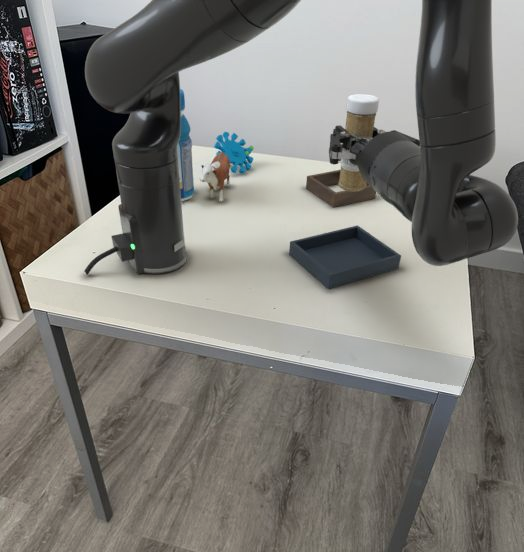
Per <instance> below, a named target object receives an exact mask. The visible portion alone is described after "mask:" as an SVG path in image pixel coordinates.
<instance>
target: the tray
mask: <svg viewBox="0 0 524 552" xmlns="http://www.w3.org/2000/svg"><path fill="white" fill-rule="evenodd" d="M288 253H289V254H288V255H289V256H290V257H291V258H292V259H294V260H295V261H296V262H297V263H298V264H299V265H301V266H302V267H303V268H304V269H305V270H306V271H307V272H308V273H310V274H311V275H312V276H313V278H315V279H316V280H317V281H319V283H321V284H322V285H323V286H324V287H325V288H326V289H329V290H330V289H331V288H337V287H339V286H344V285H347V284H349V283H353V282H357V281H360V280H363V279H367V278H371V277H373V276H377V275H381V274H384V273H388V272H391V271H395V270H399V268H400V263H401V258H402V254H400V253H398V252H397V251H395V250H394V249H393V248H391V247H390V246H389V245H387V244H385V242H383V241H381V240H380V239H378V238H377V237H375V236H373V235H372V234H371V233H369V232H368V231H367V230H365V229H363V228H362V227H361V226H359V225H352V226H349V227H345V228H341V229H336V230H333V231H329V232H324V233H320V234H315V235H311V236H307V237H304V238H298V239H295V240H291V241H289V251H288Z"/></svg>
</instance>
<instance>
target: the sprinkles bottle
mask: <svg viewBox="0 0 524 552" xmlns="http://www.w3.org/2000/svg"><path fill="white" fill-rule="evenodd" d="M379 103H380V99H379V97H377V96H375V95H373V94H367V93H355V94H351V95H349V96H348V97H347V100H346V118H345V127H344V129H345V130H347V131H348V133H350V134H354V133H359V134H361V135H363V136H365V137H372V135H373V129H374V127H375V123H376V122H375V121H376V117H377V113H378V111H379ZM347 147H348V146H347ZM339 170H340V179H339V183H338V184H337V186H338V187H339V188H340V189H342V191H345V190H347V191H353V192H354V191H361V190H363V189H365V188H366V181H365V180H364V179H363V178H362V176H361V174H360V171H359V168H358V166H357V165H354V164H352V163H350V161H349V159H341V161H340V169H339Z"/></svg>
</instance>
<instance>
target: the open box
mask: <svg viewBox="0 0 524 552" xmlns="http://www.w3.org/2000/svg"><path fill="white" fill-rule="evenodd" d="M340 170H341V169H337V170H332V171H326V172H321V173H316V174H310V175H306V184H305V189H306V190H307V191H308V192H310V193H311V194H313V195H315V197H317V198H319V199H320V200H322V201H323V202H325V203H326V204H328V205H329V206H330V207H332V208H337V207H338V208H339V207H342V206H347V205H351V204H355V203H360V202H366V201H369V200H373V199H376V196H377V192H376V191H375V190H374V189H373V188H372V187H371V186H370V185H369V184H368V183H367V182H366V188H365V189H363V190H361V191H354V192H353V191H347V190H341V191H340V190H339V191H335V190H333V189H332V188H330V186H334V185H338V183H339V179H340Z"/></svg>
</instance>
